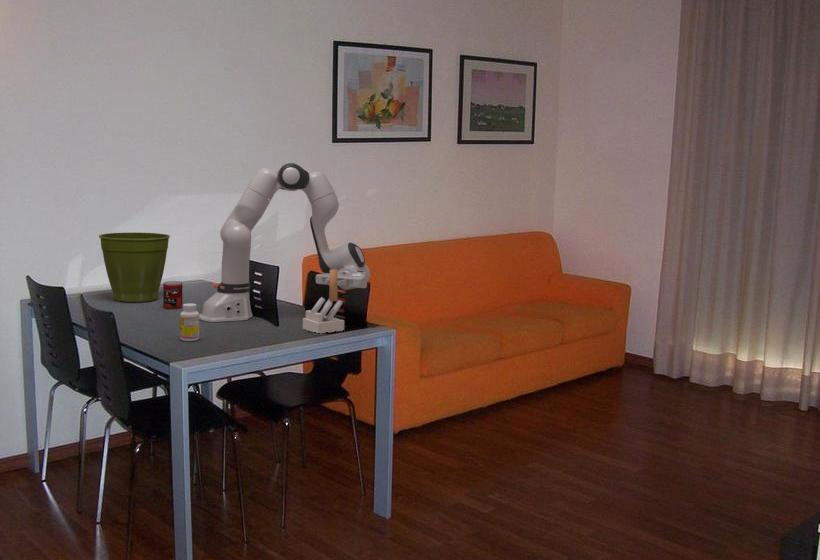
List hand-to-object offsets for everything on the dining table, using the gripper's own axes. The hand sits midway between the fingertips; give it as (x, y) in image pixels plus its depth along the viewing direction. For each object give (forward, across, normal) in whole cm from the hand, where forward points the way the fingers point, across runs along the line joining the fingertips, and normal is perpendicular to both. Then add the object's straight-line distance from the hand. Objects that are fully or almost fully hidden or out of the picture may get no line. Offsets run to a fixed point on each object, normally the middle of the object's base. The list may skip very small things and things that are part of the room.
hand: (332, 283), depth 331 cm
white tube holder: (+2, -2, +18) cm, 18 cm away
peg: (-1, 0, +7) cm, 7 cm away
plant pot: (-12, -102, +18) cm, 105 cm away
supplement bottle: (+43, -36, +18) cm, 59 cm away
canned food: (-4, -77, +18) cm, 79 cm away
